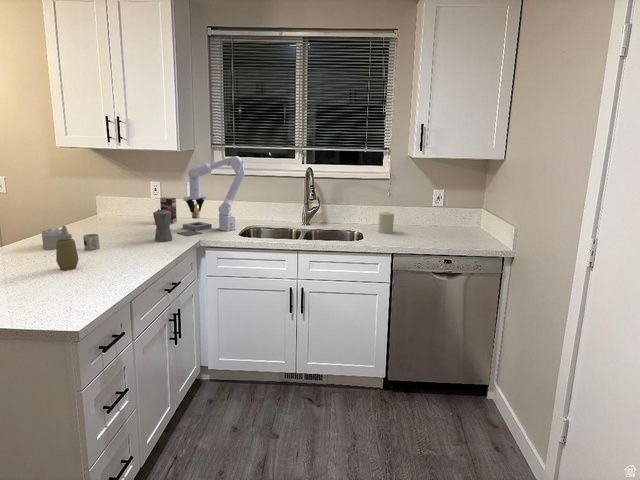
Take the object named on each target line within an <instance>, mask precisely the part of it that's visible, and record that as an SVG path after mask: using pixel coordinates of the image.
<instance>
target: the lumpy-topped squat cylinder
mask: <svg viewBox="0 0 640 480" xmlns="http://www.w3.org/2000/svg"><path fill="white" fill-rule="evenodd" d="M61 232H62V228H61V229H60V228H58V227H55V228H54V229H52V228H48V229H47V230H46V229H44V230H42V231H41V239H42V246H43V247H42V248H43V250H45V251H53V250H56V242H57V241H58V240H60V239H59V236H58V235H60V234H61Z"/></svg>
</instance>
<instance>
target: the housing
mask: <svg viewBox="0 0 640 480" xmlns="http://www.w3.org/2000/svg"><path fill="white" fill-rule="evenodd" d="M212 225H213V224H211V223H208V222H203V221H195V222H186V223H183V224H182V229H183V230H187V231H190V230H193V231H197V232H200V231H203V230H208V229H212V228H213V227H212Z"/></svg>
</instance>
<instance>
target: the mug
mask: <svg viewBox="0 0 640 480" xmlns="http://www.w3.org/2000/svg"><path fill="white" fill-rule="evenodd" d="M82 238H83V247H84V251H98V250H99V249H100V248H101V247H100V239H99V238H100V235H99V234H96V233H88V234H83V237H82Z"/></svg>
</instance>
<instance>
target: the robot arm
mask: <svg viewBox="0 0 640 480" xmlns="http://www.w3.org/2000/svg"><path fill="white" fill-rule="evenodd" d="M223 166H226V167H227V166H228V167H232V170H233V171H234V173H235V176H234V178H233V181H232V183H231V185H230V187H229V190H228V192H227V194H226V196H225V198H224V200H223V202H222V203H221V204H220V205H219V208H218V212H219V213H218V223H219V224H218V225H219V226H218V227H216V228H215V229H216V230H220V231H225V232H229V231H234V230H237V228H236V218H235V216H233V215H232V212H231V210H232V204H233V201H234V199H235V197H236V194H237V192H238V190H239V187H240V186H241V184H242V182H243V179H244V177H245V174H246V173H245V166H244V162H243V159H242V158H241V157H240V156H238V155H235V156H230V157H227V158H223V159H221V160H218V161H215V162H213V163H211V164H210V163H208V162H206V163H205V162H203V163H202V164H201V165H199V166H198V165H196V166H195V168H190V169H189V170H188V172H187V174H188V175H187V176H188V178H189V183H188V184H189V196H184V197H183V201H185V202H186V204H187V206H188V208H189V211H190V213H191V214H192V213H193V212H194V204H199V213H200V212H201V210H202V206H203V204H204V202H205V199H207V195H205V194H204V195H203V194H201V189H200V187H201V186H200V177H202V176H206V175H208V174H210V173H212V171H213V170H214V169H217V168H220V167H223ZM194 200H195V201H194ZM195 202H196V203H195Z"/></svg>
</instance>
